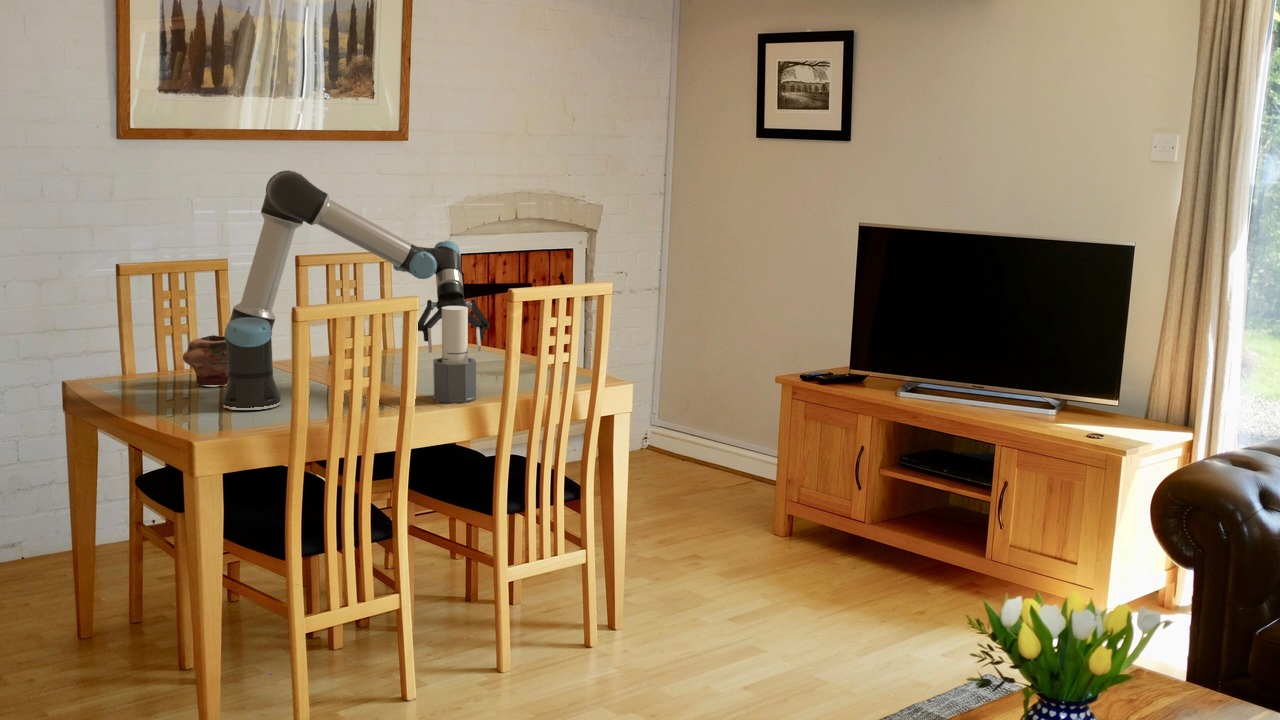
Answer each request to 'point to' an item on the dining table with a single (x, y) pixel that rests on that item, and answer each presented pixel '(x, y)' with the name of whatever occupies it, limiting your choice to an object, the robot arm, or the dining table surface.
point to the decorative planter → (208, 360)
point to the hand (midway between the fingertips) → (455, 349)
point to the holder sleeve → (454, 381)
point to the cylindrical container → (454, 335)
